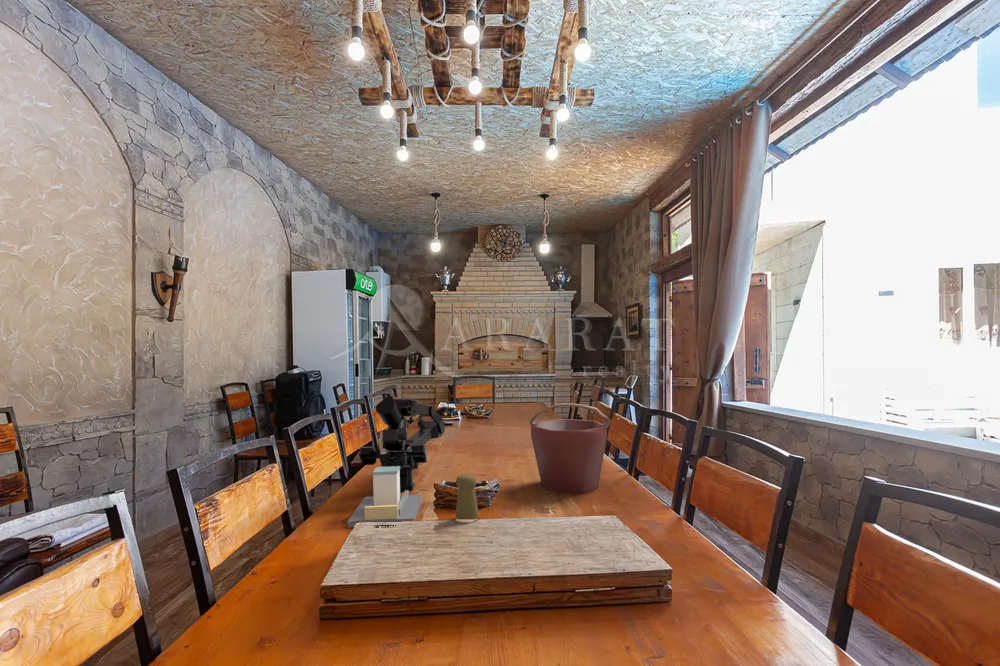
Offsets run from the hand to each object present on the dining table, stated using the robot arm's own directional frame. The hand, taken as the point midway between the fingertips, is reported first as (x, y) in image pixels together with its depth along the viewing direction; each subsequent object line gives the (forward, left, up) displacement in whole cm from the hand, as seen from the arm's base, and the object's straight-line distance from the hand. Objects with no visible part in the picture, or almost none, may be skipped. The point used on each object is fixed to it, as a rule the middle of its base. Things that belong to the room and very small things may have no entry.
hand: (390, 481), depth 133 cm
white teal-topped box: (+6, 0, -5) cm, 8 cm away
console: (+5, 0, -7) cm, 9 cm away
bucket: (-11, +52, -7) cm, 54 cm away
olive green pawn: (+13, +21, -7) cm, 26 cm away
